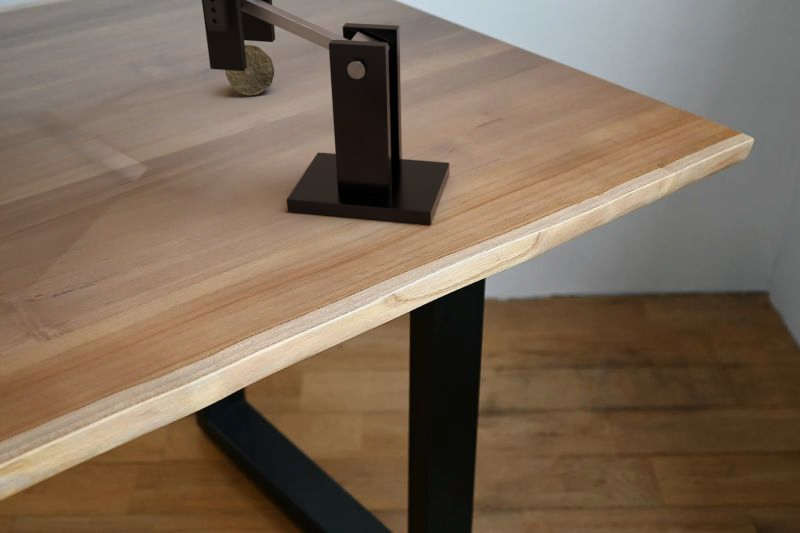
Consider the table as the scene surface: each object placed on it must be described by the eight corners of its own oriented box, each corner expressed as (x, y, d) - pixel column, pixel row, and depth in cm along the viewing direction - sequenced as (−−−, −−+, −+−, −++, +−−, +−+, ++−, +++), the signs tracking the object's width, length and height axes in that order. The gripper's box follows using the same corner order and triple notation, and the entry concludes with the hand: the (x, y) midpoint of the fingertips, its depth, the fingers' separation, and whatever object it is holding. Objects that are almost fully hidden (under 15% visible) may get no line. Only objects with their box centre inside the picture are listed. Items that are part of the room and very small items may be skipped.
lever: (209, 20, 69) (216, -9, 67) (237, -3, 74) (244, -30, 72) (367, 91, 69) (378, 64, 68) (385, 64, 74) (395, 37, 73)
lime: (282, 90, 97) (278, 44, 94) (246, 103, 94) (240, 56, 92) (256, 80, 100) (251, 35, 97) (220, 92, 97) (214, 47, 94)
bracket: (287, 212, 75) (271, 49, 67) (318, 164, 82) (307, 12, 75) (430, 225, 73) (430, 58, 65) (449, 174, 80) (451, 19, 72)
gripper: (205, -278, 52) (247, 102, 64) (305, -289, 67) (322, 19, 80) (85, -277, 53) (148, 95, 66) (210, -288, 69) (241, 14, 81)
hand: (244, 53), depth 73 cm, fingers closed on lever, 6 cm apart
